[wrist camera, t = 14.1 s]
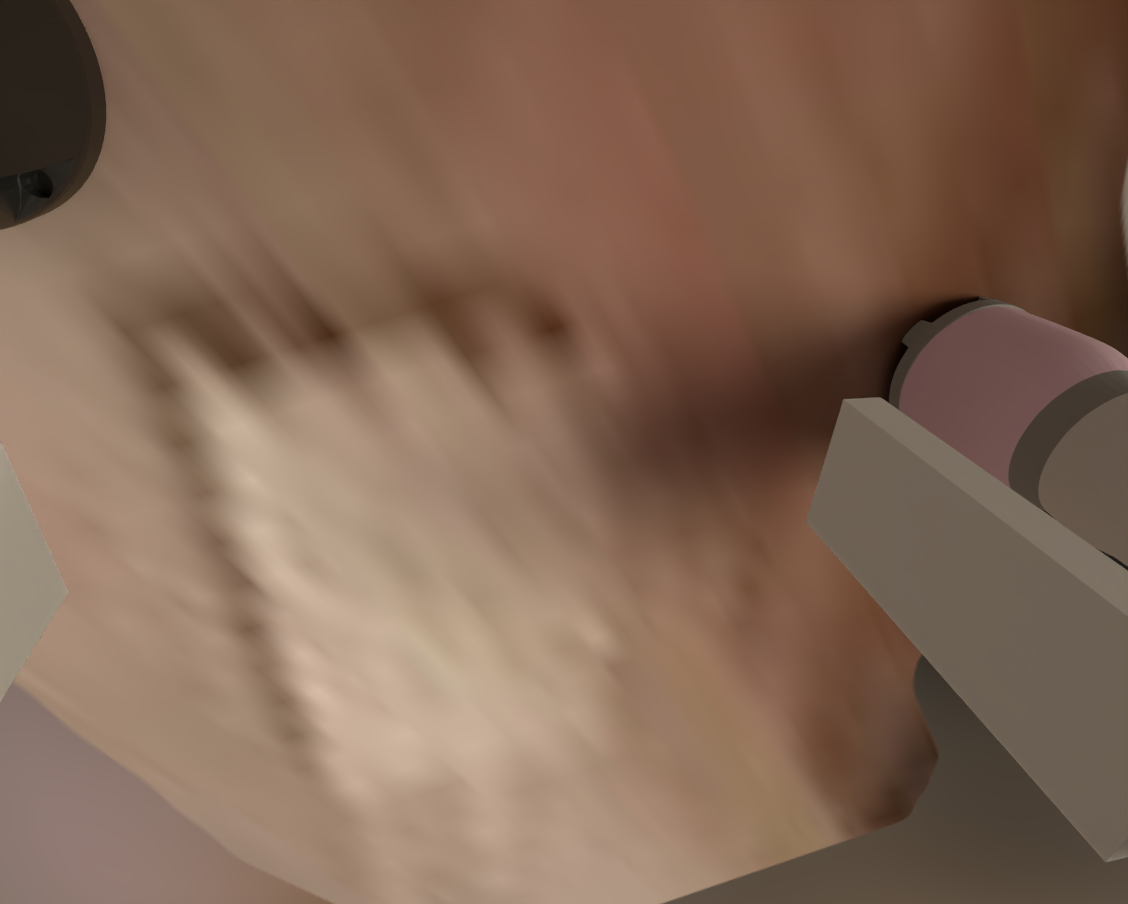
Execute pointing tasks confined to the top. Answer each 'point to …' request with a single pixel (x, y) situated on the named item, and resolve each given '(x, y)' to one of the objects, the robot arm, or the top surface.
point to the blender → (1027, 410)
